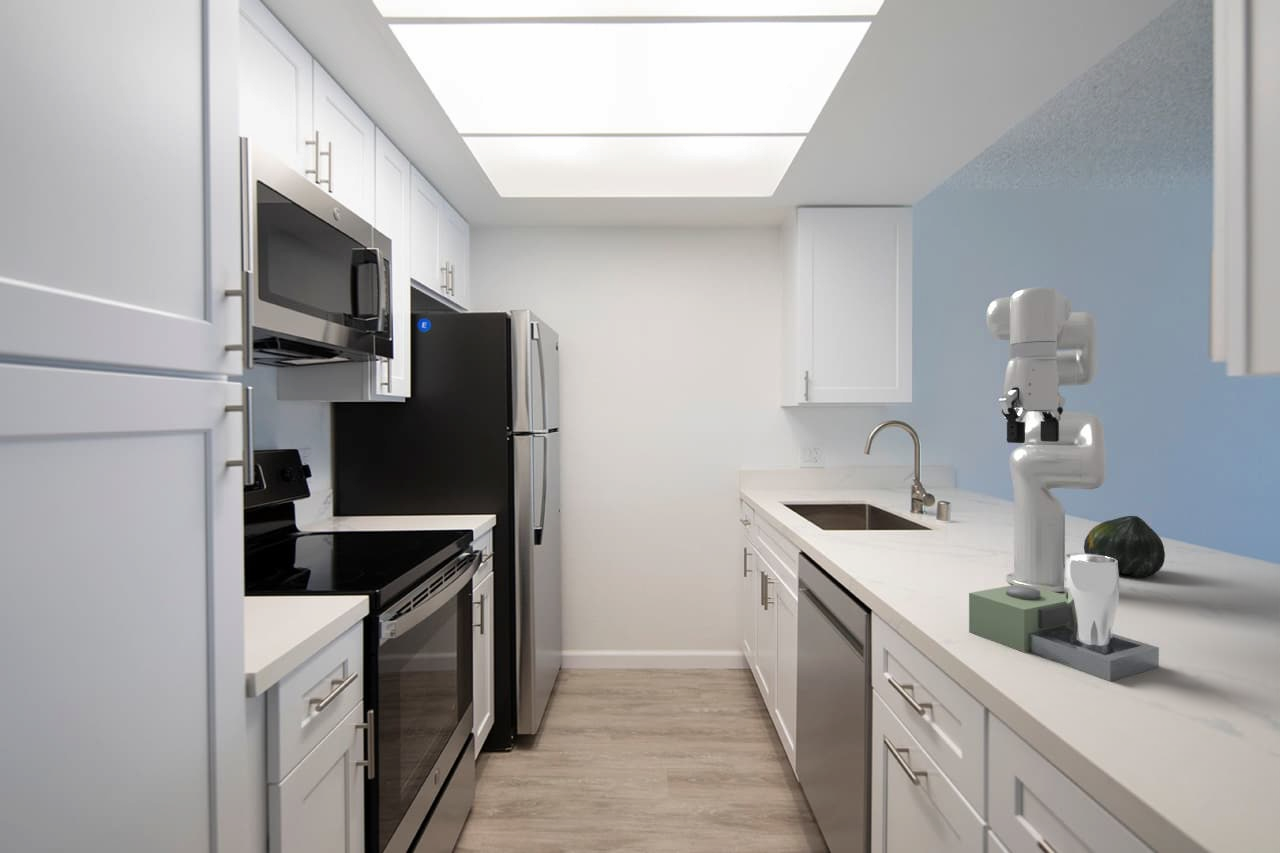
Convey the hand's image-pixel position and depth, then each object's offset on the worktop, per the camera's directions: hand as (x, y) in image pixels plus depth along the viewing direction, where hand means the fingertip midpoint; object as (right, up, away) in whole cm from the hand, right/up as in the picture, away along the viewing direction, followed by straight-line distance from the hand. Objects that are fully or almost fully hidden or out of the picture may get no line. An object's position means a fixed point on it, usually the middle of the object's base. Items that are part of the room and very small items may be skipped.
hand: (1032, 442), depth 115 cm
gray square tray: (-5, -34, -21) cm, 40 cm away
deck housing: (-9, -34, -11) cm, 36 cm away
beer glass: (-5, -33, -21) cm, 39 cm away
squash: (+41, -33, +28) cm, 59 cm away
